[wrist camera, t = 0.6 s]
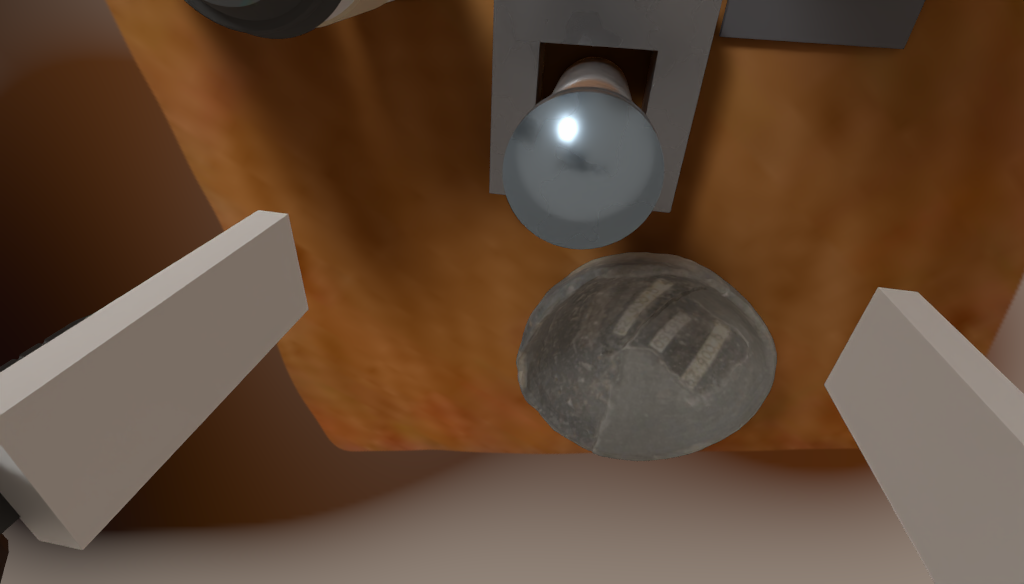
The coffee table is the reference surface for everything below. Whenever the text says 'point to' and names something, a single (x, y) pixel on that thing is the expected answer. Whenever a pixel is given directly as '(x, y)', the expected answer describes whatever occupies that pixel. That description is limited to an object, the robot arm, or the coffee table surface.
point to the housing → (607, 23)
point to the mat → (823, 21)
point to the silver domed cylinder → (584, 160)
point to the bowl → (645, 357)
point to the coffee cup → (280, 14)
